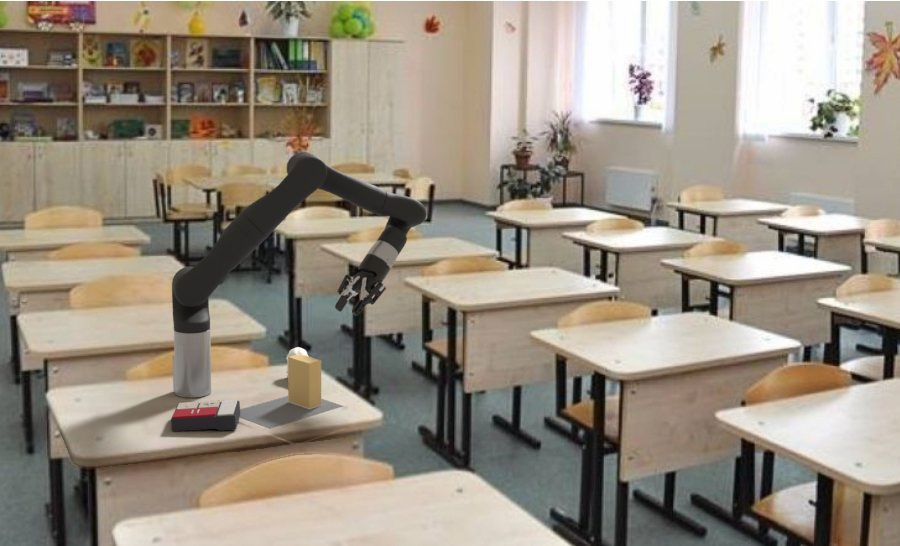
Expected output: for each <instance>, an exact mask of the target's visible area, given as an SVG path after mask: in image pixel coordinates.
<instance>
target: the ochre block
mask: <svg viewBox="0 0 900 546" xmlns="http://www.w3.org/2000/svg"><path fill="white" fill-rule="evenodd" d="M308 356H309V355H308ZM308 356H305V355H302V354H299V355H295V356H291V357H288V362H287V366H288V374H287V375H288V378H287V381H288V385H287V386H288V392H287V393H288V395H287V396H288V402H290V403H292V404H295V405H298V406H301V407H304V408H307V409H312V408H316V407H319V406H321V399H322V360H321V359H318V358H315V357H311V356H309V357H308Z"/></svg>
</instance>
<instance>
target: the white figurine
mask: <svg viewBox="0 0 900 546" xmlns="http://www.w3.org/2000/svg"><path fill="white" fill-rule="evenodd" d="M299 354H302V355H305V356H308V357H310V356H309V355H308V352H307V350H306V349H304V348H302V347H299V346H297V347H294V348H292V349H290V350H289V351H288V354H287V355H286V361H287V363H288V357H291V356H295V355H299ZM286 374H287V375H286V378H287V379H288V365H287V367H286Z"/></svg>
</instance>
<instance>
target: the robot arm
mask: <svg viewBox="0 0 900 546" xmlns="http://www.w3.org/2000/svg"><path fill="white" fill-rule="evenodd" d="M286 173H287V175H286V176H285V177H284V178H283V179H282V181H280V183H278V185H277V186H276V187H275V188H273V189H272V190H271V191H270V192H268V193H266V194H265V195H263V196H261V197H259V198H258V199H256V200H255V201H253V202H252V203H250V204H249V205H248V206H246V207H245V208H244V209H243V210H242V211H241V212H240V213H239V214H238V215H237V216H235V218H234V219H233V220H232V221H231V222H230V223H228V225H227V226H226V228H225V229H224V230H223V231H222V233H221V235H220V237H218V239H217V240H216V242H215V244H214V245H213V247H212V248H211V249H210V250H209V252H207V254H206V255H205V256H204V257H203V258H202V259H201V260H200V261H198V263H197V264H195V265H194V266H185V267H182V268H180V269H179V270H177V272H175V274H174V275H173V278H172V282H171V297H172V298H171V299H172V300H171V301H172V306H171V307H172V321H173V348H174V349H173V350H174V351H173V353H174V354H173V356H172V382H173V383H172V384H173V386H172V388H173V392H174V394H175V395H176V396H178V397H180V398H200V397H201V398H202V397H205V396H208V395H210V394H211V393H212V355H211V353H212V351H211V348H212V347H211V346H212V345H211V317H210V306H209V305H210V304H209V302H210V301H209V300H210V299H209V298H210V297H211V295H212V294H213V293H214V291H215V290H216V289H217V288H218V286H219V285H220V284H221V283H222V282H223V280H225V278H226V277H227V276H228V274H230V272H231V271H233V270H234V269H235V268H236V267H237V266H239V265H240V264H241V263H242V262H243V261H244V260H245V259H247V257H249V255H250V254H252V252H254V251H255V250H256V249H257V248H258V247H259V246H260V245H261V244H262V243H263V242H264V241H265V240H266V239H267V238H268V237H269V236H270V235H271V234H272V232H273V231H274V230H275V229H276V228H277V227H278V226H280V224H281V223H282V222H283V221H285V219H286V218H287V217H288V216H289V215H290V213H291V212H292V211H293V210H295V208H296V207H298V205H299V204H301V203H302V202H303V201H305V200H306V199H307V198H308V197H309V196H311V195H312V194H314V192H316V191H317V190H321V191H324V192H326V193H329V194H332V195H334V196H337V197H338V198H341V199H342V200H344V201H346V202H349V203H350V204H352V205H354V206H355V207H358V208H360V209H363V210H365V211H366V212H369V213H372V214H374V215H376V216H379V217H388V219H387V222H386V225H385V227H384V230H383V231H382V232H381V234H380V235H379V237H378V238H377V240H376V241H375V242H374V244H373V245H372V246H371V247H370V248H369V250H368V251H367V253H366V255H364V258H363V259H362V261H361V262H360V264H359V265H358V272H357V273H356V274H355V275H353V276H350V275H349V274H346V275H345V276H344V277H343V279H342V281H341V283H340V284H339V287H338V289H337V293H338V294H339V295H340V297H339V299H337V302H336V303H335V306H334V308H335V309H336V310H337V312H340V313H341V312H342V311H343V310H344V308H345V306H346V304H348V302H349V300H350V299H351V298H352V297H356V296H357V295H358V294H360V297H359V299H358V300H357V302H356V303H355V305H354V307H353V308H352V310H351V313H352V314H353V315H354V316H355V317H358V316H359V315H361V313H362V312H363V310H364V309H365V307H366V306H368V305H374V304H375V303H376V302H377V301H378V300H379V298H380V297H381V296H382V294H383V293H384V292H385V291H386V289H387V288H386V285H384V283H383V281H384V280H385V279H386V277H387V275H388V274H389V272H390V270H392V268H393V266H394V265H395V263H396V261H397V260H398V257H399V255H400V253H401V252H402V250H403V249H404V247H405V246H406V243H407V242H408V237H407V235H408V233H409V232H410V230H411V228H414V227H416V226H419V225H421V224H423V222H425V220H426V219H427V209H426V207H425V205H424V204H423V203H422V202H421V201H419V200H417V199H415V198H412V197H409V196H406V195H401V194H397V193H392V192H390V191H389V190H386V189H383V188H381V187H379V186H377V185H374V184H372V183H369V182H367V181H364V180H361V179H359V178H356V177H354V176H351V175H348V174H345V173H343V172H341V171H339V170H337V169H335V168H333V167H331V166H329V165H328V164H326V163H325V162H324V161H323V159H322V158H320V157H318V156H317V155H315V154H313V153H311V152H307V151H305V152H304V151H301V152H298V153H297V152H296V153H295V154H293V155H292V156H291V157H290V158H289V159H288V161H287V164H286Z"/></svg>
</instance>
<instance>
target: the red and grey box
mask: <svg viewBox="0 0 900 546" xmlns="http://www.w3.org/2000/svg"><path fill="white" fill-rule="evenodd" d="M240 406H241V405H240V400H237V399H229V400H227V399H226V400H222V401H221V400H220V399H219V400H204V401H202V400H201V401H187V402H179V403H178V404H177V406H176V407H175V410H174V412H173V414H172V416H171V418H170V426H171V432H183V431H186V432H187V431H197V430H198V431H199V430H215V429H217V430H219V431H220V432H221V431H234V430H236V429H237V427H238V424H239V421H240V409H241V407H240Z"/></svg>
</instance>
